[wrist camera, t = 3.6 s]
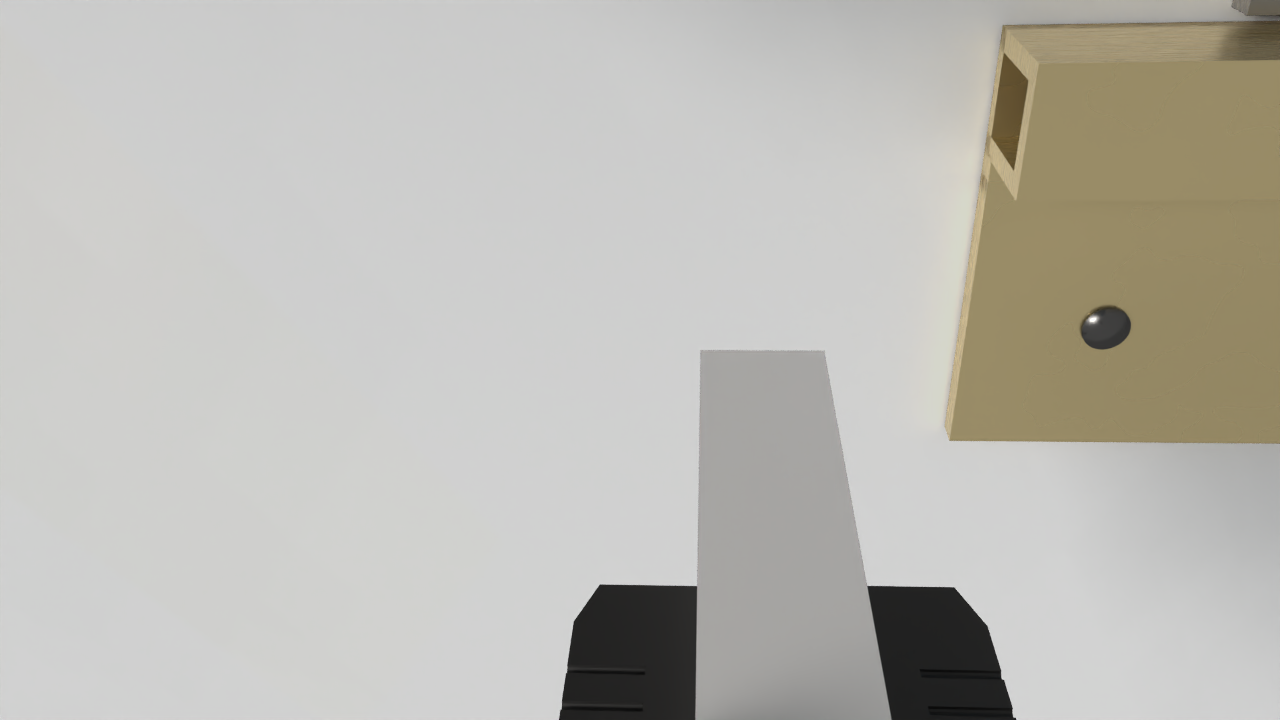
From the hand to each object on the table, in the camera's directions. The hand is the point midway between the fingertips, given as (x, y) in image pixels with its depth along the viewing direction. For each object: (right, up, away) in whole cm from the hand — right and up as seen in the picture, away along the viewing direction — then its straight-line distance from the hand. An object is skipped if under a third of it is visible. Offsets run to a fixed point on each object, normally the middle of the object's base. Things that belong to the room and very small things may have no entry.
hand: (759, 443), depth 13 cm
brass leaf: (+14, +4, +13) cm, 20 cm away
